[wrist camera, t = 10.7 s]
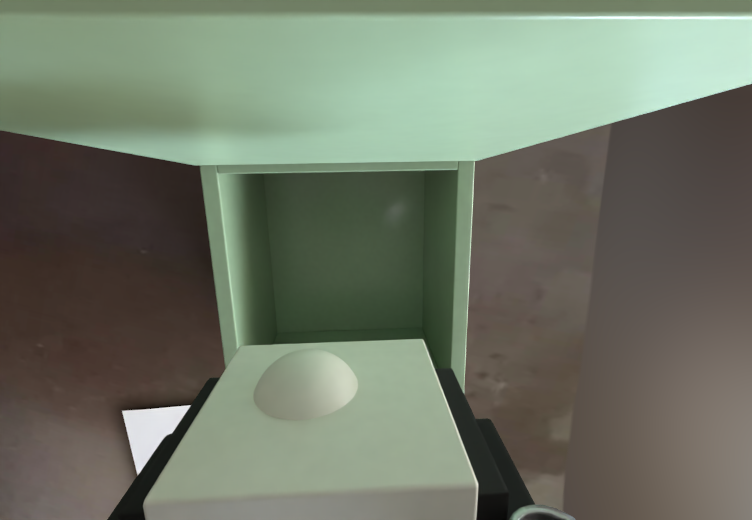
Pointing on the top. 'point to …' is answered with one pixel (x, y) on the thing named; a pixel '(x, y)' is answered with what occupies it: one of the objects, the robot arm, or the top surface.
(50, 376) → the top surface
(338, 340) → the trashcan
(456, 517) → the white cube with domes
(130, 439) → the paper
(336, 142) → the bin lid
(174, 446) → the robot arm
